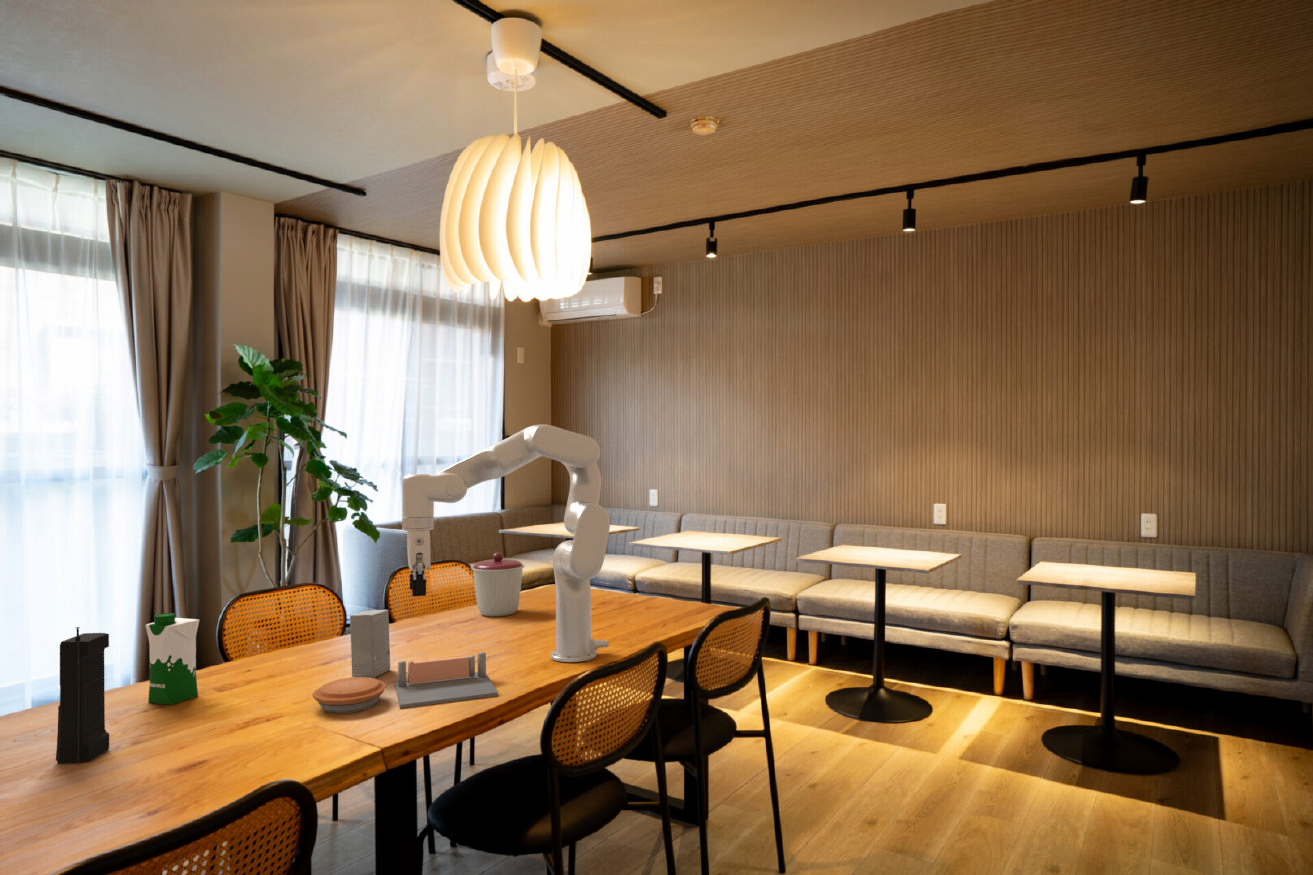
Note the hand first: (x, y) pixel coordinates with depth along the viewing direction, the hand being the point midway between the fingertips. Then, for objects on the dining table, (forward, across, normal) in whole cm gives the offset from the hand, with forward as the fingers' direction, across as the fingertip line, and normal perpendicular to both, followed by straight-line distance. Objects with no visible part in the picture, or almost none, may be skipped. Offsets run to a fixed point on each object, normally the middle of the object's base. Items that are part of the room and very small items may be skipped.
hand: (417, 592), depth 194 cm
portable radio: (+23, -25, +62) cm, 71 cm away
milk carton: (+22, +7, +54) cm, 59 cm away
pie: (+22, -14, +15) cm, 30 cm away
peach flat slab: (+20, -7, -5) cm, 22 cm away
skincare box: (+22, +10, +11) cm, 26 cm away
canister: (+21, +69, -32) cm, 79 cm away
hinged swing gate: (+22, -12, -6) cm, 25 cm away
